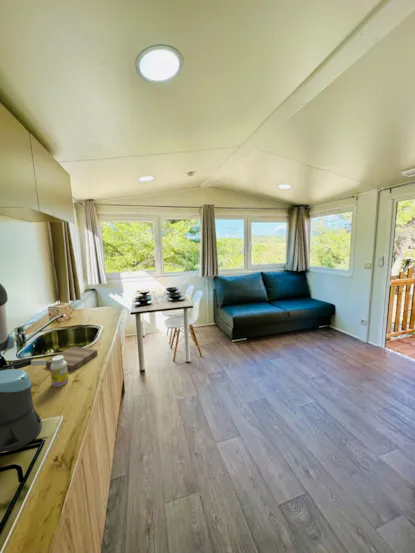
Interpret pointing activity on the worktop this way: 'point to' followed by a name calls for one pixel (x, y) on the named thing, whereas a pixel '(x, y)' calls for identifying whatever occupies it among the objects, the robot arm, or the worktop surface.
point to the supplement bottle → (59, 371)
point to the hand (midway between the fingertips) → (37, 369)
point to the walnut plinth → (75, 357)
